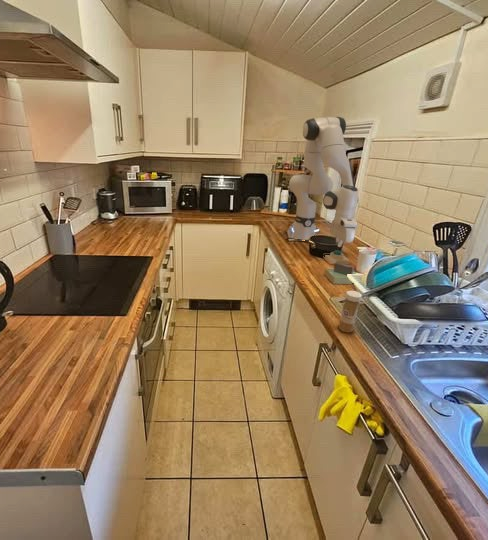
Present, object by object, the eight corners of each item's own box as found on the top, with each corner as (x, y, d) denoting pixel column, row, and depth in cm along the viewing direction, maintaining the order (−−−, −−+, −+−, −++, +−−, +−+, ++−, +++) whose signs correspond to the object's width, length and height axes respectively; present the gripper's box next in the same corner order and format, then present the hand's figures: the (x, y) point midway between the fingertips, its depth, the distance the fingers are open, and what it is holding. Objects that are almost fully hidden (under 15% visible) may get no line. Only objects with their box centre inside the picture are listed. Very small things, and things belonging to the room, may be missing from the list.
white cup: (374, 275, 142) (379, 255, 138) (356, 273, 143) (361, 253, 139) (369, 268, 149) (374, 250, 145) (352, 267, 150) (357, 248, 146)
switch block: (322, 257, 162) (324, 250, 161) (340, 257, 163) (342, 250, 161) (330, 264, 153) (331, 257, 152) (349, 264, 154) (350, 257, 152)
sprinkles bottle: (336, 329, 99) (344, 293, 94) (341, 323, 103) (349, 288, 97) (350, 334, 97) (359, 298, 91) (354, 329, 100) (364, 293, 95)
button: (332, 253, 158) (332, 250, 157) (338, 253, 158) (339, 250, 158) (335, 255, 155) (335, 252, 154) (341, 255, 155) (342, 252, 154)
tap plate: (323, 273, 142) (324, 267, 141) (348, 273, 143) (349, 267, 141) (333, 285, 131) (335, 278, 129) (361, 285, 131) (362, 278, 130)
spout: (333, 271, 137) (335, 262, 135) (335, 270, 139) (336, 261, 137) (350, 276, 132) (353, 267, 131) (352, 275, 134) (354, 266, 132)
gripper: (329, 214, 159) (324, 240, 164) (346, 224, 140) (340, 252, 145) (341, 215, 159) (336, 240, 164) (359, 224, 140) (353, 252, 145)
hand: (338, 246), depth 155 cm, fingers closed
